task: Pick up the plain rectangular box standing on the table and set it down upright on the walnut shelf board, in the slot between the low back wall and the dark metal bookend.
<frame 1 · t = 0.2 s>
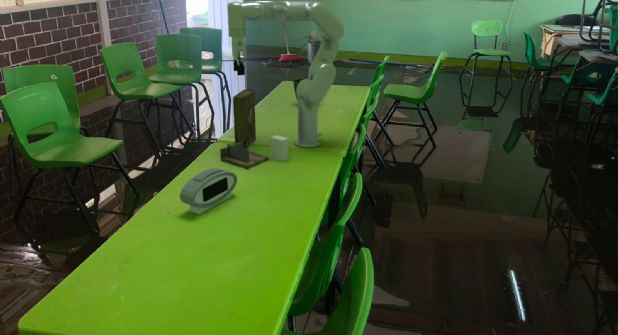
hand: (239, 72, 210), 37 cm above the table, tool pointing down, fingers open, 9 cm apart
book: (246, 143, 234), on the table
shelf: (244, 160, 213), on the table
plain rectangular box: (279, 158, 216), on the table
plant pot: (305, 106, 300), on the table
alarm clock: (211, 204, 174), on the table
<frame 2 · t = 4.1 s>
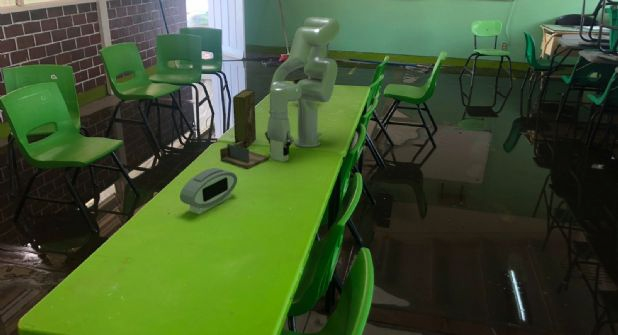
hand: (279, 152, 215), 3 cm above the table, tool pointing down, fingers closed on plain rectangular box, 7 cm apart
plain rectangular box: (279, 158, 216), on the table, touching gripper
everything else where it was.
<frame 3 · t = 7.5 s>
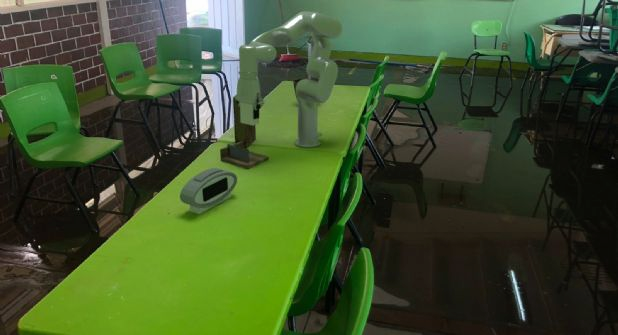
hand: (249, 116, 205), 20 cm above the table, tool pointing down, fingers closed on plain rectangular box, 7 cm apart
plain rectangular box: (249, 123, 206), point 18 cm above the table, touching gripper
everything else where it was.
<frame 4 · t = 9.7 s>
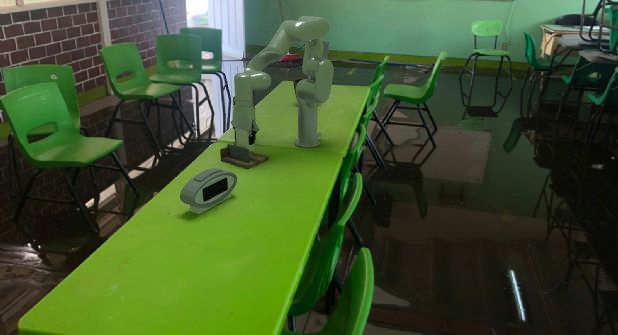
hand: (245, 142, 209), 9 cm above the table, tool pointing down, fingers closed on plain rectangular box, 7 cm apart
plain rectangular box: (245, 148, 210), point 6 cm above the table, touching gripper
everything else where it was.
when the fingers open (6 cm above the table, at t = 11.3 s): plain rectangular box drops 2 cm, resting on shelf.
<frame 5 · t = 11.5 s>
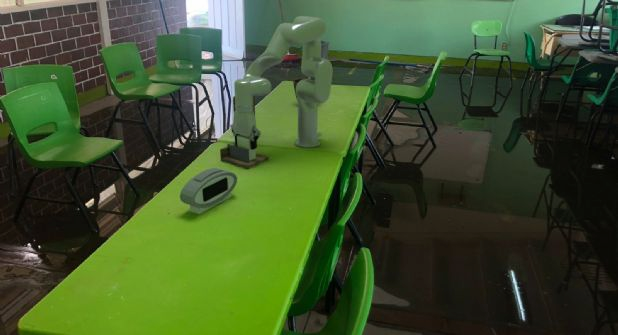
hand: (245, 146, 210), 7 cm above the table, tool pointing down, fingers open, 9 cm apart
plain rectangular box: (246, 157, 212), point 1 cm above the table, touching shelf
everything else where it was.
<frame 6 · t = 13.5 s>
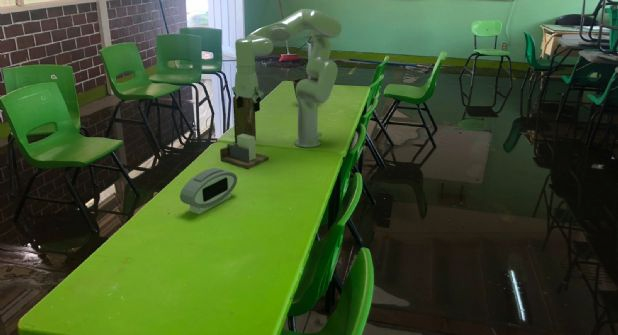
hand: (248, 109, 205), 23 cm above the table, tool pointing down, fingers open, 9 cm apart
nothing on the table moved.
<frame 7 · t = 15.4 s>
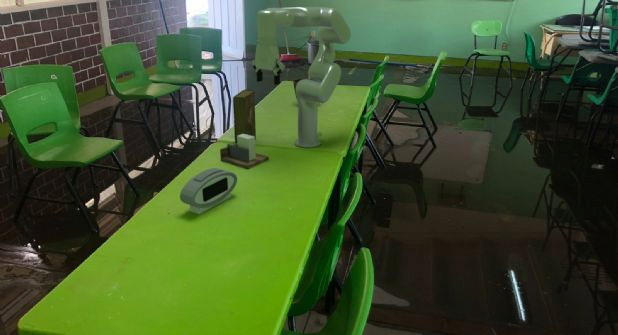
hand: (268, 82, 203), 34 cm above the table, tool pointing down, fingers open, 9 cm apart
nothing on the table moved.
at the end: plain rectangular box 0.2 cm from the target spot on the shelf, point 1.5 cm above the shelf's base; plain rectangular box tilted 0°; the gripper is holding nothing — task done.
